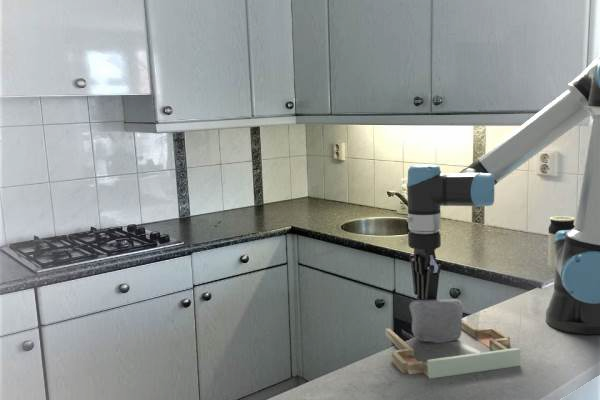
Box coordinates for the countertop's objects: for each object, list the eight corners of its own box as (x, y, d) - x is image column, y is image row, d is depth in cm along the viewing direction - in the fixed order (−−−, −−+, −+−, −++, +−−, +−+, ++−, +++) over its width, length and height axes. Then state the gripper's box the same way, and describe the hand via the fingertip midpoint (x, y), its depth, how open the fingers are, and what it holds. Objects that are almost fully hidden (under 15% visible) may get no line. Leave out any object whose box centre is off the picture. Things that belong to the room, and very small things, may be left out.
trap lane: (477, 325, 144) (477, 311, 143) (537, 363, 120) (537, 347, 120) (369, 338, 138) (369, 324, 137) (411, 381, 114) (410, 364, 114)
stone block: (458, 334, 137) (459, 294, 135) (464, 343, 133) (465, 302, 131) (408, 337, 137) (408, 296, 135) (412, 346, 132) (412, 304, 130)
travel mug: (572, 276, 184) (574, 220, 181) (545, 274, 188) (546, 219, 186) (576, 270, 190) (577, 216, 188) (550, 268, 195) (551, 215, 192)
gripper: (398, 227, 143) (400, 320, 146) (420, 236, 130) (422, 338, 133) (427, 225, 144) (428, 317, 147) (451, 234, 132) (452, 334, 135)
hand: (425, 327), depth 140 cm, fingers closed
